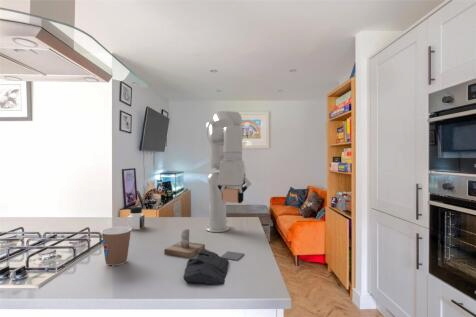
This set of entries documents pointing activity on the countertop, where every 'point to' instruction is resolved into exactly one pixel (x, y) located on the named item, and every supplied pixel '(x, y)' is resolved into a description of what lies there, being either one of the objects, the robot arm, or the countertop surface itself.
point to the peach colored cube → (230, 195)
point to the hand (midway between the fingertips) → (232, 201)
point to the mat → (232, 255)
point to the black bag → (206, 269)
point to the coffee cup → (116, 244)
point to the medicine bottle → (135, 218)
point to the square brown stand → (184, 246)
